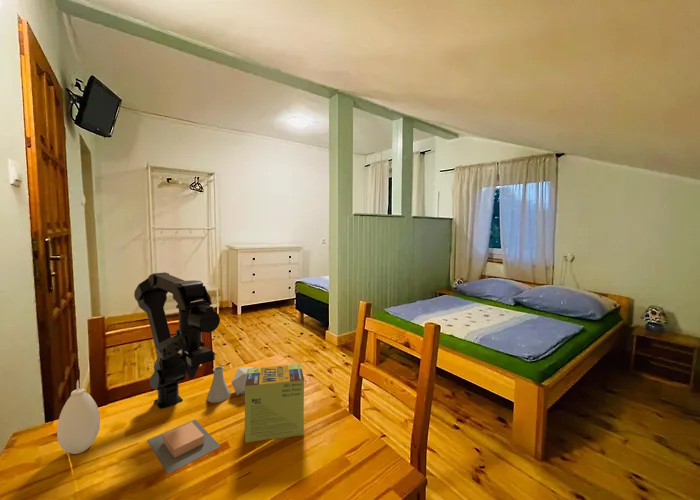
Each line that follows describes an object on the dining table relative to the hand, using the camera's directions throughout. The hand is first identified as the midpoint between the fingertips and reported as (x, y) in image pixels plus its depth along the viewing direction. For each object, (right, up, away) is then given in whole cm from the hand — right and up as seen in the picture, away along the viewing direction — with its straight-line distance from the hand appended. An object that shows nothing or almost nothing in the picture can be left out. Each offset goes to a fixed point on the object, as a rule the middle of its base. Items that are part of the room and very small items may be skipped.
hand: (191, 378), depth 88 cm
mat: (+3, -13, -10) cm, 17 cm away
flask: (+3, -12, +12) cm, 17 cm away
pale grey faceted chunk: (+10, -12, +16) cm, 22 cm away
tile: (+1, -11, -8) cm, 13 cm away
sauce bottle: (-21, -13, -13) cm, 27 cm away
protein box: (+25, -13, -3) cm, 28 cm away
